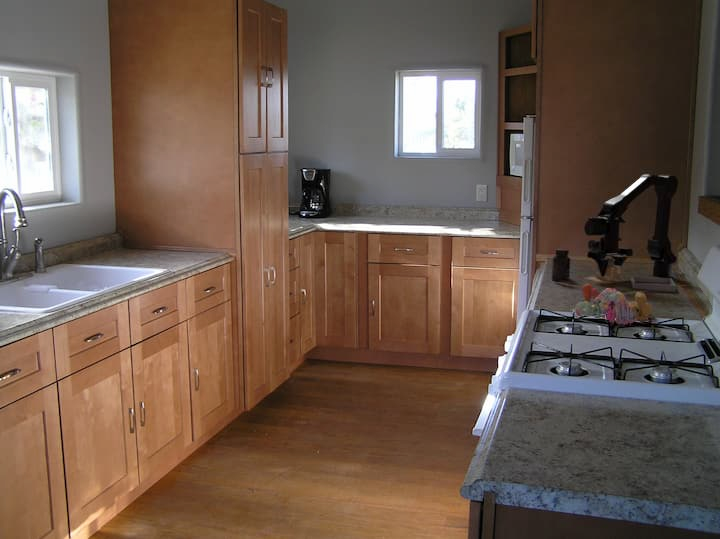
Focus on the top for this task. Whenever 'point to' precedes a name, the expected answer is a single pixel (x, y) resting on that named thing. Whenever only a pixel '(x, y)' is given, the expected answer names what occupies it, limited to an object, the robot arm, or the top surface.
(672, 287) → the slate tray
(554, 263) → the supplement bottle
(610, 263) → the stake block
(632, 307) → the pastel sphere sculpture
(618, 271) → the hollow wooden box
